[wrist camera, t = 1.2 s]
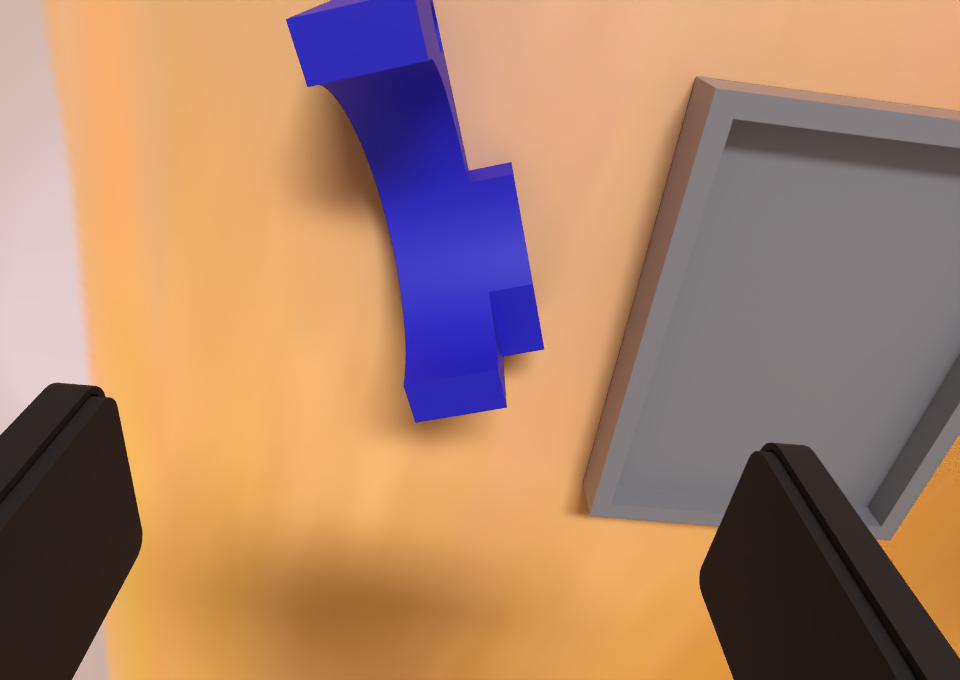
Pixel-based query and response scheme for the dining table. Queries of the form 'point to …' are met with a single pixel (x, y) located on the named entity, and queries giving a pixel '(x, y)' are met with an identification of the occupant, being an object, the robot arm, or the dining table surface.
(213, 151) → the dining table surface
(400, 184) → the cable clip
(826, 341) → the shallow rectangular tray
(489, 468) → the dining table surface
